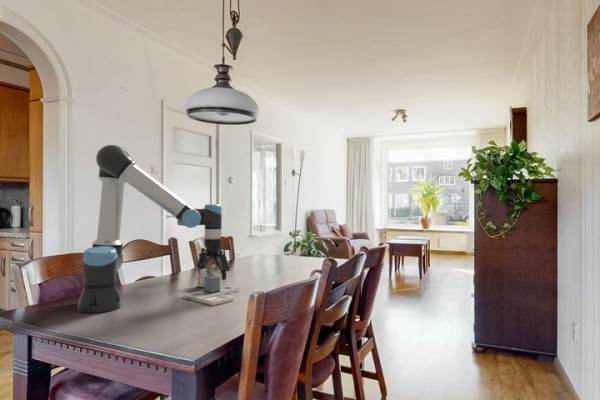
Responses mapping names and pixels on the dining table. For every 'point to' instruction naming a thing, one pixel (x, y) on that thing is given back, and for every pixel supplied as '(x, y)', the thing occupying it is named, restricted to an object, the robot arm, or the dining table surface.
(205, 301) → the tray
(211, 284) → the dark grey block
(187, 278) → the dining table surface
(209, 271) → the mug
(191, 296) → the rail
